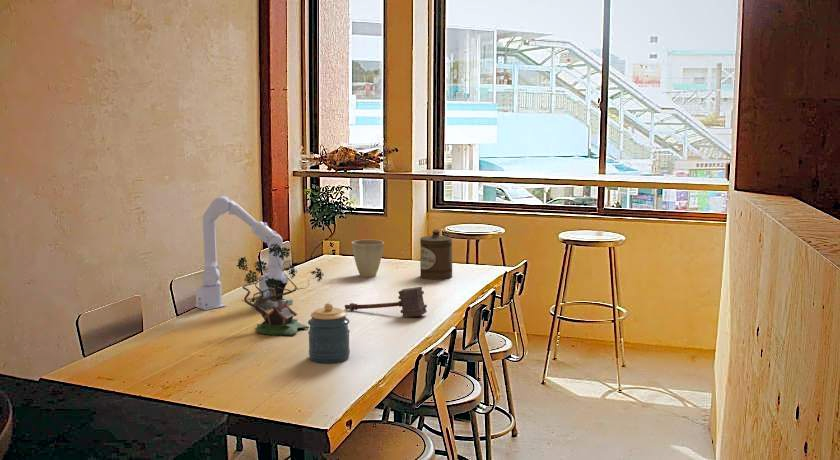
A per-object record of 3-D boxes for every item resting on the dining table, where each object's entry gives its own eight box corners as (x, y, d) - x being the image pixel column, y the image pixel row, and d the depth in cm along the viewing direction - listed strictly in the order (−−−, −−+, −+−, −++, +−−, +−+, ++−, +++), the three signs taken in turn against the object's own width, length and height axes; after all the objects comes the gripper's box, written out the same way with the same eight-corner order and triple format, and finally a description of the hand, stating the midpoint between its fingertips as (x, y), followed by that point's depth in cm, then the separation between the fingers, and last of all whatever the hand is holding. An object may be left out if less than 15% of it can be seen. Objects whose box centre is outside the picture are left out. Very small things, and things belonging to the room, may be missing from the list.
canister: (329, 349, 279) (328, 296, 276) (358, 356, 271) (357, 302, 268) (300, 358, 269) (298, 303, 266) (329, 366, 261) (328, 310, 258)
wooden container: (415, 275, 400) (415, 228, 397) (443, 272, 406) (443, 226, 403) (428, 281, 387) (428, 233, 384) (457, 278, 393) (458, 230, 390)
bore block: (273, 308, 335) (273, 303, 335) (260, 304, 342) (260, 299, 341) (292, 304, 341) (292, 299, 341) (279, 300, 348) (279, 296, 347)
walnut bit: (275, 304, 339) (275, 289, 338) (270, 302, 341) (270, 288, 341) (282, 303, 341) (282, 288, 340) (278, 301, 344) (277, 287, 343)
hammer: (422, 315, 318) (417, 289, 317) (344, 324, 330) (339, 299, 329) (428, 311, 324) (423, 285, 323) (352, 320, 336) (347, 296, 335)
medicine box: (266, 297, 354) (265, 277, 353) (259, 296, 357) (258, 275, 355) (280, 294, 360) (279, 274, 359) (273, 292, 363) (272, 272, 362)
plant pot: (347, 277, 394) (346, 243, 391) (358, 271, 408) (358, 238, 405) (377, 279, 389) (377, 245, 387) (388, 273, 403) (388, 240, 401)
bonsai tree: (221, 337, 293) (218, 246, 289) (259, 320, 316) (256, 236, 311) (312, 347, 281) (310, 252, 276) (344, 329, 304) (343, 241, 299)
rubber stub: (261, 310, 332) (261, 300, 331) (256, 308, 334) (256, 298, 334) (269, 309, 334) (268, 299, 334) (264, 307, 337) (264, 297, 336)
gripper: (294, 265, 337) (295, 299, 338) (274, 260, 347) (274, 293, 349) (279, 268, 332) (280, 302, 334) (259, 263, 342) (260, 296, 344)
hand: (276, 298), depth 341 cm, fingers closed on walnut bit, 3 cm apart
